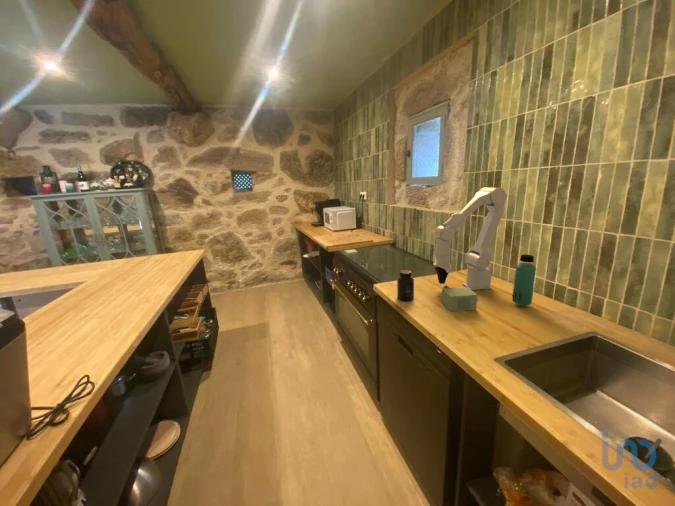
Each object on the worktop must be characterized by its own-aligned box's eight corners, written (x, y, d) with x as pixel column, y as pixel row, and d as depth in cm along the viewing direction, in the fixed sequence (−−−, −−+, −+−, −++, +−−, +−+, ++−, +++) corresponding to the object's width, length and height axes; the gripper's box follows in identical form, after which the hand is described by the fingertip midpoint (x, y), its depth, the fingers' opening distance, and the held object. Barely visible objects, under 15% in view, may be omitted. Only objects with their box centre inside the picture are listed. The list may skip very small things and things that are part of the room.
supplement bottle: (414, 295, 120) (415, 269, 117) (413, 302, 113) (413, 274, 110) (398, 294, 122) (398, 268, 119) (396, 300, 116) (396, 273, 113)
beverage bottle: (532, 304, 106) (539, 254, 101) (529, 311, 102) (536, 258, 97) (513, 300, 111) (519, 252, 106) (509, 306, 106) (515, 255, 101)
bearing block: (465, 300, 112) (466, 286, 111) (476, 309, 105) (477, 294, 103) (441, 302, 112) (442, 288, 111) (449, 311, 104) (450, 296, 103)
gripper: (427, 250, 127) (427, 278, 131) (440, 258, 113) (439, 289, 116) (443, 249, 127) (442, 277, 131) (457, 257, 113) (455, 288, 117)
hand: (441, 283), depth 124 cm, fingers closed
